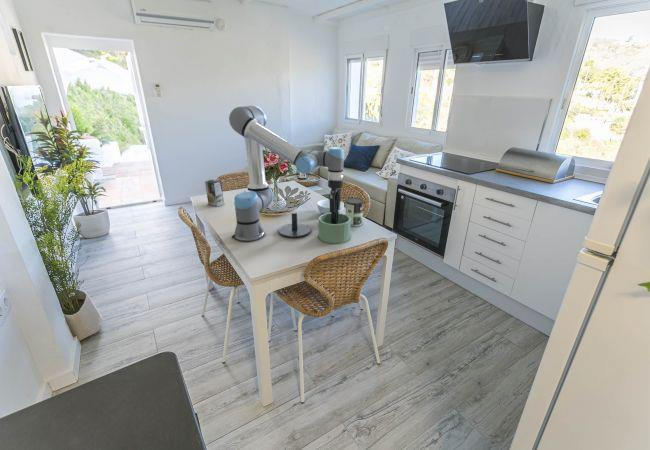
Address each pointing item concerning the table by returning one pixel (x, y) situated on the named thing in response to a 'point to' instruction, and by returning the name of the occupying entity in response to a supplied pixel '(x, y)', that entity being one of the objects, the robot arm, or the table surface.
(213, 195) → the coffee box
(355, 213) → the coffee can
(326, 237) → the bowl chamber
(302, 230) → the lid
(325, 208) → the cereal bowl
